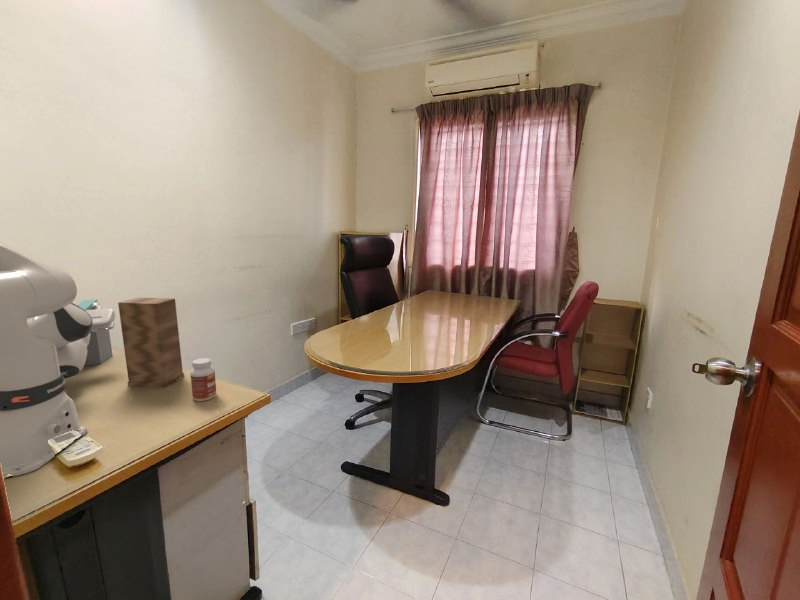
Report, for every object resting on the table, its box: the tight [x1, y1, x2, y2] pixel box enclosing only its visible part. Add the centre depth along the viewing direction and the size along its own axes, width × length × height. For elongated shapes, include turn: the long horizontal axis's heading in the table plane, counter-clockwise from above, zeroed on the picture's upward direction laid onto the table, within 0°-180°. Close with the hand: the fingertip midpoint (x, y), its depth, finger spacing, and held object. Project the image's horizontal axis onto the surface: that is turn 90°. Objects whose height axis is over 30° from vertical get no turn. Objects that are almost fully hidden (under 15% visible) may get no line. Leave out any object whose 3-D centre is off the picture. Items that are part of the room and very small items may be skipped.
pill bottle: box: [190, 357, 217, 402], centre depth 107 cm, size 6×6×11 cm
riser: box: [84, 330, 113, 366], centre depth 133 cm, size 9×9×14 cm
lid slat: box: [76, 298, 98, 310], centre depth 131 cm, size 20×4×2 cm, turn 29°
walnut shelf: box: [117, 297, 185, 389], centre depth 116 cm, size 12×9×26 cm
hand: (78, 305), depth 125 cm, fingers open, 8 cm apart
